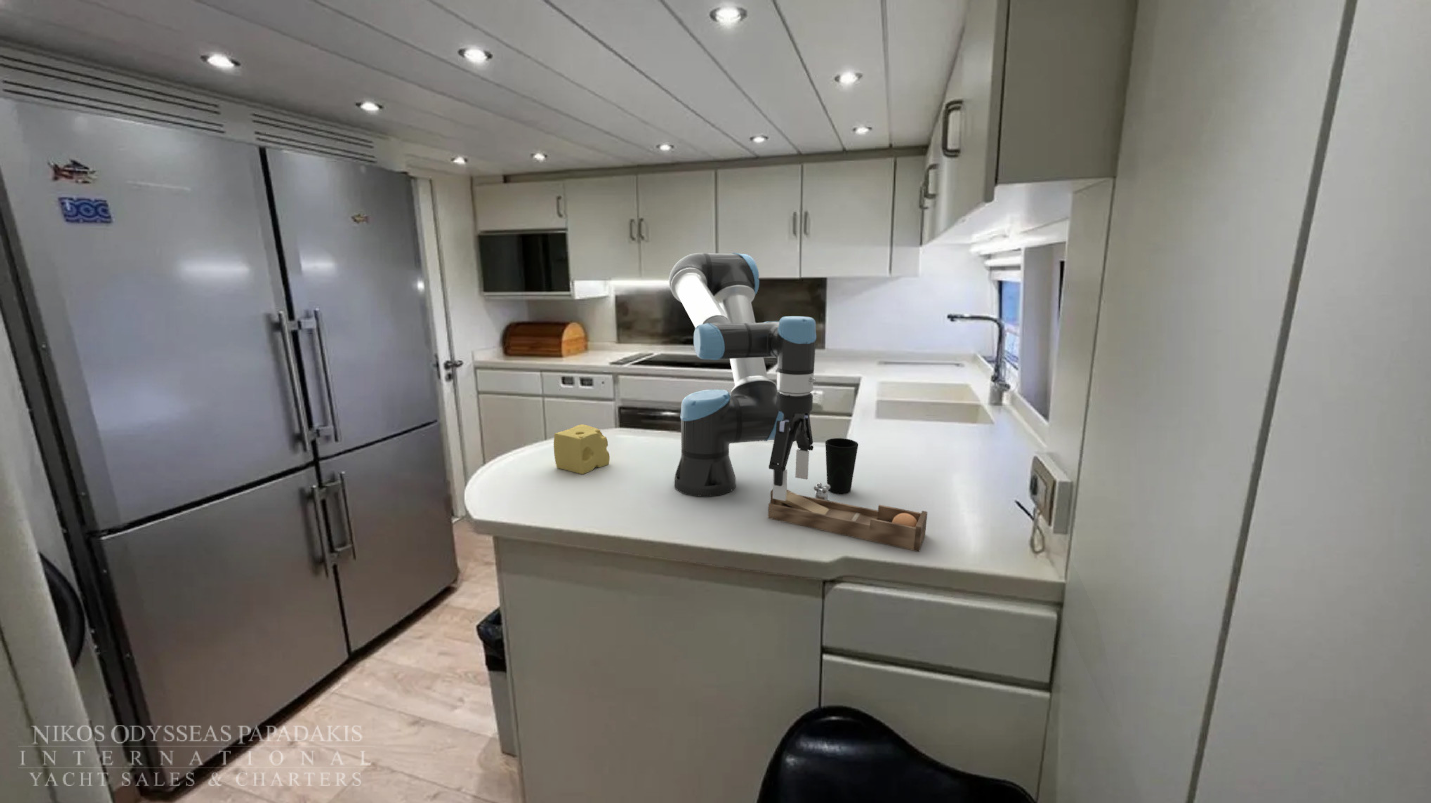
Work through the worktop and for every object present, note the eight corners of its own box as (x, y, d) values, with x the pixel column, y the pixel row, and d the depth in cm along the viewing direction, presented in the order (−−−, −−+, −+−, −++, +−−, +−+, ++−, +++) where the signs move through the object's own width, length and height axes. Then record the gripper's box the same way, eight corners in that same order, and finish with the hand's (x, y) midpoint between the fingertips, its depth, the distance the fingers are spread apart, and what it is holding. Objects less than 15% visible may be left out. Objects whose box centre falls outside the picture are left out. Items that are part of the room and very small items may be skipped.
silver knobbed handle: (806, 507, 126) (807, 486, 125) (813, 499, 131) (814, 479, 130) (828, 511, 124) (829, 490, 123) (835, 503, 128) (836, 483, 127)
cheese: (610, 464, 154) (608, 429, 151) (581, 476, 145) (579, 438, 142) (582, 457, 159) (581, 423, 157) (553, 468, 150) (551, 432, 148)
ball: (898, 513, 109) (884, 532, 111) (921, 529, 107) (906, 548, 109) (902, 504, 113) (889, 522, 115) (925, 519, 111) (911, 537, 114)
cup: (855, 497, 132) (858, 448, 129) (822, 494, 134) (825, 446, 131) (854, 485, 139) (857, 439, 137) (823, 482, 141) (825, 437, 138)
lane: (768, 517, 121) (768, 492, 119) (781, 504, 128) (782, 480, 126) (919, 551, 107) (921, 523, 105) (925, 534, 114) (927, 507, 112)
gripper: (790, 406, 104) (786, 512, 109) (829, 383, 125) (825, 472, 130) (753, 402, 107) (751, 505, 112) (798, 380, 129) (794, 467, 134)
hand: (791, 488), depth 121 cm, fingers open, 13 cm apart
